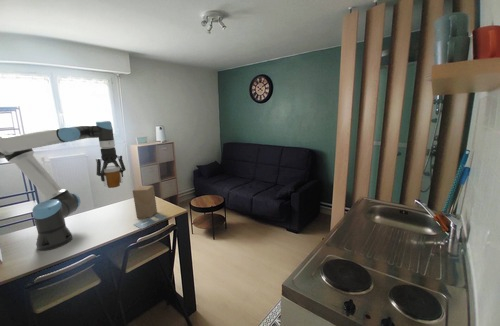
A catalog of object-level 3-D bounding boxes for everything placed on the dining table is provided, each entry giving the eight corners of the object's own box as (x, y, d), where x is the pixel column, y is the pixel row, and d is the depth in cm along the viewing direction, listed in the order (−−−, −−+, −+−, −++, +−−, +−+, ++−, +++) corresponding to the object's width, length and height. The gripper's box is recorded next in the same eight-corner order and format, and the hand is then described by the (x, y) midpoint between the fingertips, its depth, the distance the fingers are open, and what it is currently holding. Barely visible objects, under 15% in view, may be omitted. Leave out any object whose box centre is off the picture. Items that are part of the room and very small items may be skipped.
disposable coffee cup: (122, 187, 133) (119, 168, 130) (103, 189, 129) (100, 170, 126) (123, 183, 141) (120, 164, 138) (106, 185, 137) (102, 166, 134)
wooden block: (150, 217, 150) (147, 189, 146) (136, 218, 150) (132, 190, 146) (157, 211, 160) (153, 185, 156) (143, 211, 160) (139, 185, 156)
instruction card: (141, 229, 136) (141, 228, 136) (133, 224, 141) (133, 224, 141) (167, 217, 150) (167, 217, 150) (158, 214, 156) (158, 213, 155)
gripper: (89, 150, 119) (96, 190, 124) (128, 145, 136) (133, 180, 141) (84, 149, 123) (91, 187, 128) (123, 145, 140) (127, 179, 145)
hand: (113, 184), depth 135 cm, fingers closed on disposable coffee cup, 8 cm apart
